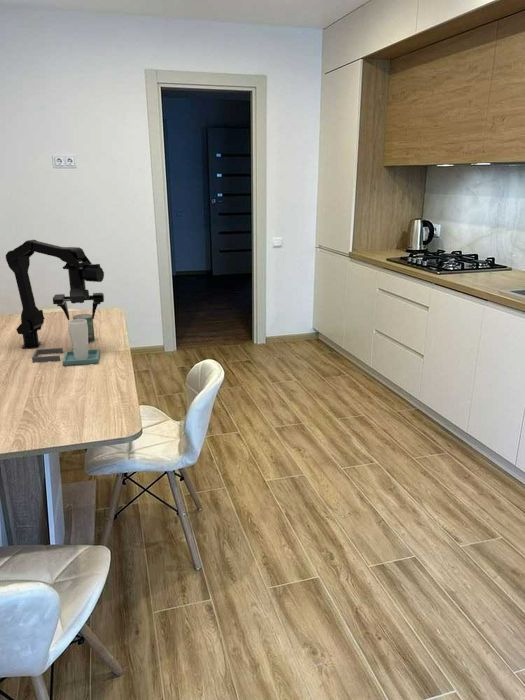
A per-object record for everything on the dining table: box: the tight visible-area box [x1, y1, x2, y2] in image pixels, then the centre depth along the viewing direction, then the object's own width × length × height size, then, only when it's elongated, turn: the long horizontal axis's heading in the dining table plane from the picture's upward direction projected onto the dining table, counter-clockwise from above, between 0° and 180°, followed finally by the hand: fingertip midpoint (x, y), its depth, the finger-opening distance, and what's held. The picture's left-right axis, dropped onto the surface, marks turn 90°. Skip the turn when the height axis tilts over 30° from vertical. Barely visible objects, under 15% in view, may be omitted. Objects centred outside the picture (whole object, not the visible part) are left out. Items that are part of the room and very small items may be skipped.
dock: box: [31, 347, 64, 364], centre depth 201 cm, size 11×10×2 cm
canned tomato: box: [72, 313, 96, 344], centre depth 221 cm, size 8×8×11 cm
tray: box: [61, 348, 101, 367], centre depth 198 cm, size 13×13×2 cm
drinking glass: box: [68, 319, 89, 360], centre depth 196 cm, size 7×7×15 cm
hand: (81, 319), depth 206 cm, fingers open, 9 cm apart
